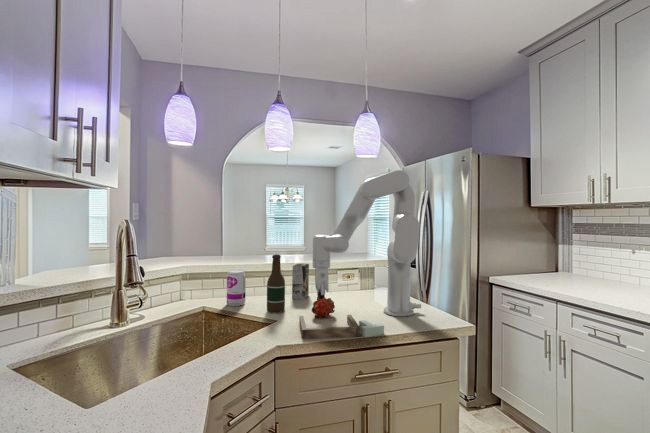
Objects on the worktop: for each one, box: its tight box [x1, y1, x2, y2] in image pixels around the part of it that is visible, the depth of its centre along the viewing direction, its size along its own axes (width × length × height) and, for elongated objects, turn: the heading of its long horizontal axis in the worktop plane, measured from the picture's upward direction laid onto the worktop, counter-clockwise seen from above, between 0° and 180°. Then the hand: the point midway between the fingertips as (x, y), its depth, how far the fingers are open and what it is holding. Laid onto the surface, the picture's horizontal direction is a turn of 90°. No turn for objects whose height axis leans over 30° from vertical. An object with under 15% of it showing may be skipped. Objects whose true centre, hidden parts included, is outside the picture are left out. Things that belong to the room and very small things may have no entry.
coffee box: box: [291, 263, 310, 300], centre depth 176 cm, size 9×6×16 cm
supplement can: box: [226, 269, 247, 307], centre depth 161 cm, size 8×8×15 cm
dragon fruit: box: [311, 297, 336, 319], centre depth 144 cm, size 8×8×12 cm
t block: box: [358, 319, 385, 338], centre depth 127 cm, size 8×8×3 cm
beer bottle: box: [266, 254, 286, 314], centre depth 151 cm, size 8×8×24 cm
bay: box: [298, 314, 361, 340], centre depth 128 cm, size 20×16×3 cm
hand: (320, 306), depth 151 cm, fingers closed
